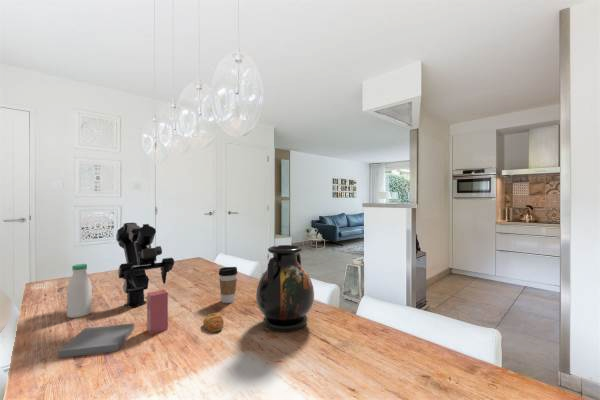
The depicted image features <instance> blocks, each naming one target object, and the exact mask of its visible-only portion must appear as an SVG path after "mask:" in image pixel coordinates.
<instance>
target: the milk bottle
mask: <svg viewBox="0 0 600 400" xmlns="http://www.w3.org/2000/svg"><path fill="white" fill-rule="evenodd" d="M87 267H88V264H87V263H79V264H74V265H72V275H71V278H70V280H69V281H68V284H67V289H66V291H67V293H66V316H67V318H71V319H74V318H76V319H77V318H82V317H84V316H87V315H90V314H91V313H92V305H93V304H92V300H93V299H92V291H93V290H92V281H91V279H90V277H89V275H88V273H87V269H88V268H87Z"/></svg>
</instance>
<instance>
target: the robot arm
mask: <svg viewBox="0 0 600 400" xmlns="http://www.w3.org/2000/svg"><path fill="white" fill-rule="evenodd" d="M156 232H157V230H156V228H155V227H153V226H151V225H150V224H149V223H146V224H145V223H144V224H142V227H141V226H139V225H138V223H136V222H125V223H123V225H122V227H120V228H119V229H117V231H116V236H115V238H116V242H118V243H117V244H118V246H119V247H120V248H122V249H123V250H124V251H123V252H124V256H125V261H126V262H125V263H121V264H120V265H119V268H118V272H117V275H118V279H123V280H124V283H123V286H122V289H123V292H124V293H125V294H126V300H127V302H126V303H124V304H123V306H125V307H130V308H136V307H138V306H141V305H144V304H147V300H145V290H148V287H149V281H150V278H149V277H148V275H147V273H146V271H148V270H154V269H155V270H156V269H160V276H161V280H162V283H163V285H165V284H166V281H167V274H168V273H169V272H170V271H172V270H173V268H174V265H175V260H174V259H175V258H173V257H166V258H165V257H164V258H162V260H161V262H156V261H157V257H158V256H161V255H162V253H163V248H162V246H161V245H158V246H155V247H152V244H153V243H154V239H155V236H156Z"/></svg>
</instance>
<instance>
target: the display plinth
mask: <svg viewBox="0 0 600 400" xmlns="http://www.w3.org/2000/svg"><path fill="white" fill-rule="evenodd" d="M134 330H135V323H126V324H114V325H106V326H105V325H104V326H93V327H87V328H84V329H82V331H79V332H78V333H77V334H76V335H75V337H73V338H72V339H71V340H69V342H67V343H66V344H65V345H64V346H63V347H62V348H60V349H59V350H58V359H61V358H62V359H63V358H71V357H78V356H86V355H87V356H88V355H94V354H95V355H96V354H102V353H103V354H104V353H111V352H118V351H119V350H120V348H121V347H122V345H124V343H125V342H126V341H127V339H128V338H129V336H130V335H131V333H132V332H133V331H134Z"/></svg>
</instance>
